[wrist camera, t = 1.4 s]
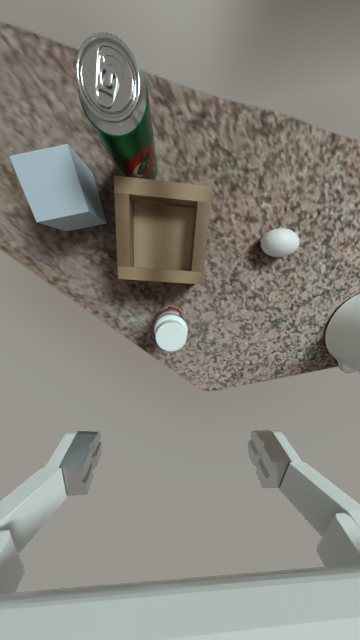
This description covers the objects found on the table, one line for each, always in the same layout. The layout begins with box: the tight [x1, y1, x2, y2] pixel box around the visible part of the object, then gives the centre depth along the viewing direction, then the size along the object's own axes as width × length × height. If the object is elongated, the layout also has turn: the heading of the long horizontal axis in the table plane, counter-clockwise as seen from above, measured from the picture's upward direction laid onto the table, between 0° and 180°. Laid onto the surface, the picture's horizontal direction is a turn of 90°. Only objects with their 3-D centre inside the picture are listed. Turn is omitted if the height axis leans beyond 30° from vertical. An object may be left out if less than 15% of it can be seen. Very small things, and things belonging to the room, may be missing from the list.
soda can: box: [76, 33, 157, 180], centre depth 17 cm, size 5×5×12 cm
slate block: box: [9, 144, 107, 231], centre depth 21 cm, size 6×6×6 cm
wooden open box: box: [114, 175, 213, 284], centre depth 23 cm, size 11×11×6 cm
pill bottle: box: [154, 305, 188, 351], centre depth 26 cm, size 5×5×8 cm
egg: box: [260, 229, 299, 257], centre depth 25 cm, size 4×6×4 cm, turn 83°
